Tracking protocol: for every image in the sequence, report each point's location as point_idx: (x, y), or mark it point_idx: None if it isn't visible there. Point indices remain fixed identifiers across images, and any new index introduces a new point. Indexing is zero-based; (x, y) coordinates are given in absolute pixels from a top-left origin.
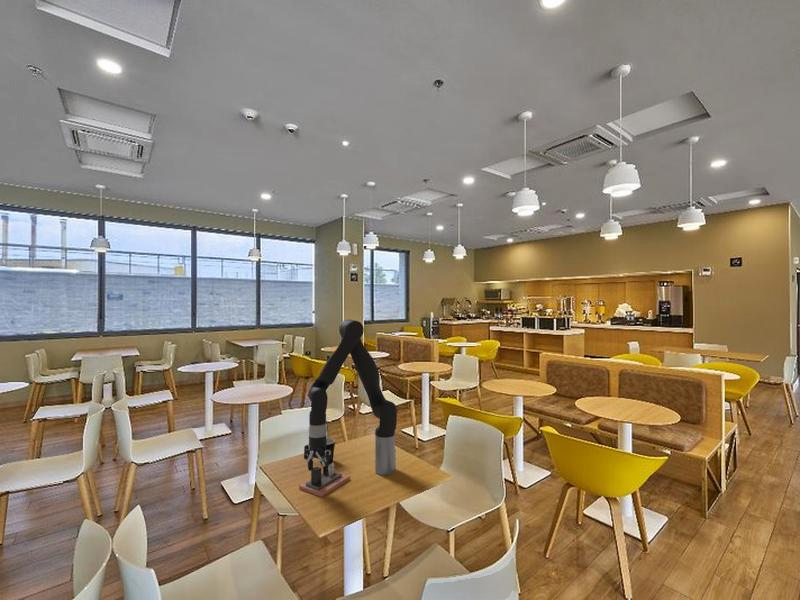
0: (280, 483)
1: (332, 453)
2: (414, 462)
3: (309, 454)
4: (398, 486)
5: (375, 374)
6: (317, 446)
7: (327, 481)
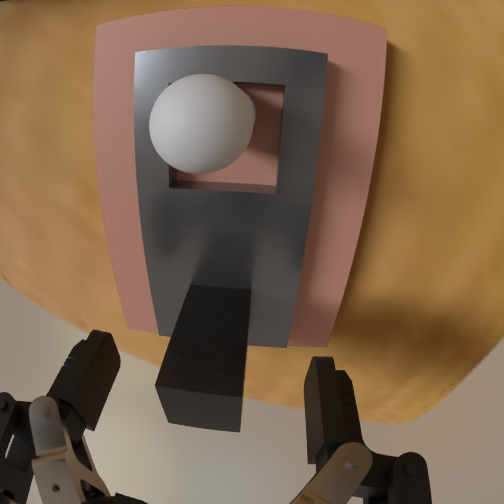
0: (32, 298)
1: None
2: None
3: (9, 439)
4: None
5: None
6: None
7: (292, 259)
